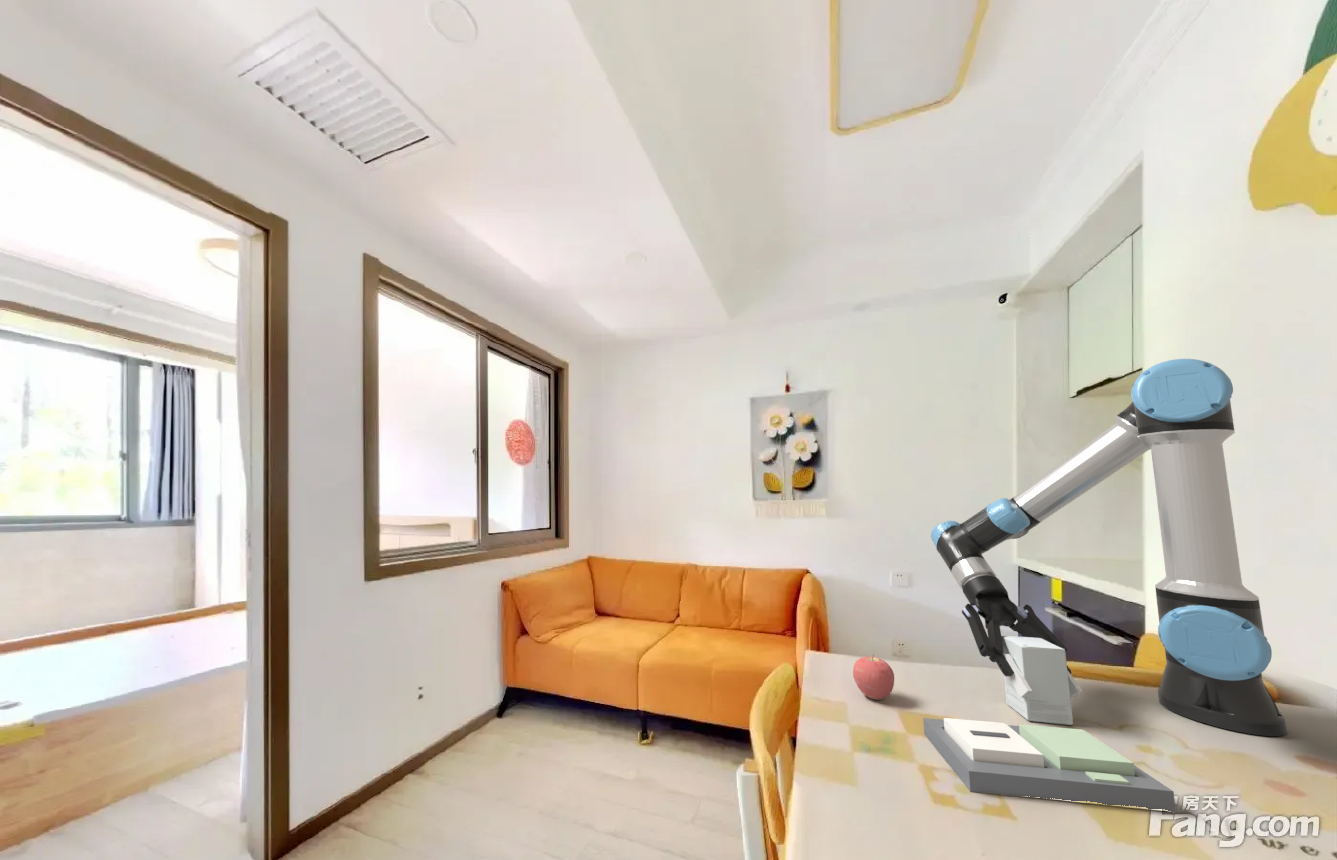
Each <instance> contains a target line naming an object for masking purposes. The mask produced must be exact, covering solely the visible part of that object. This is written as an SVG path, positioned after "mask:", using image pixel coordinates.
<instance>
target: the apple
mask: <svg viewBox="0 0 1337 860" xmlns="http://www.w3.org/2000/svg"><path fill="white" fill-rule="evenodd" d="M852 669H853V670H852V675H853V679H854V682H855V684H856V685H857V687H858V689H859V690H860V692H861V693H862V694H863V695H864V696H865V697H867V698H869V699H873V700H877V701H878V700H879V701H880V700H884V699H886V698H887V697H889V695H890V694H891V693H892V691H893V689H894V685H895V674H894V671H893V670H894V669H892V667H891V665H889V663H887V662H886V661H885V660H884V659H882V658H879V657H875V654H872V656H862V657H860V658H858V659H857V660H856V661H855V662H854V664H853V668H852Z"/></svg>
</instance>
